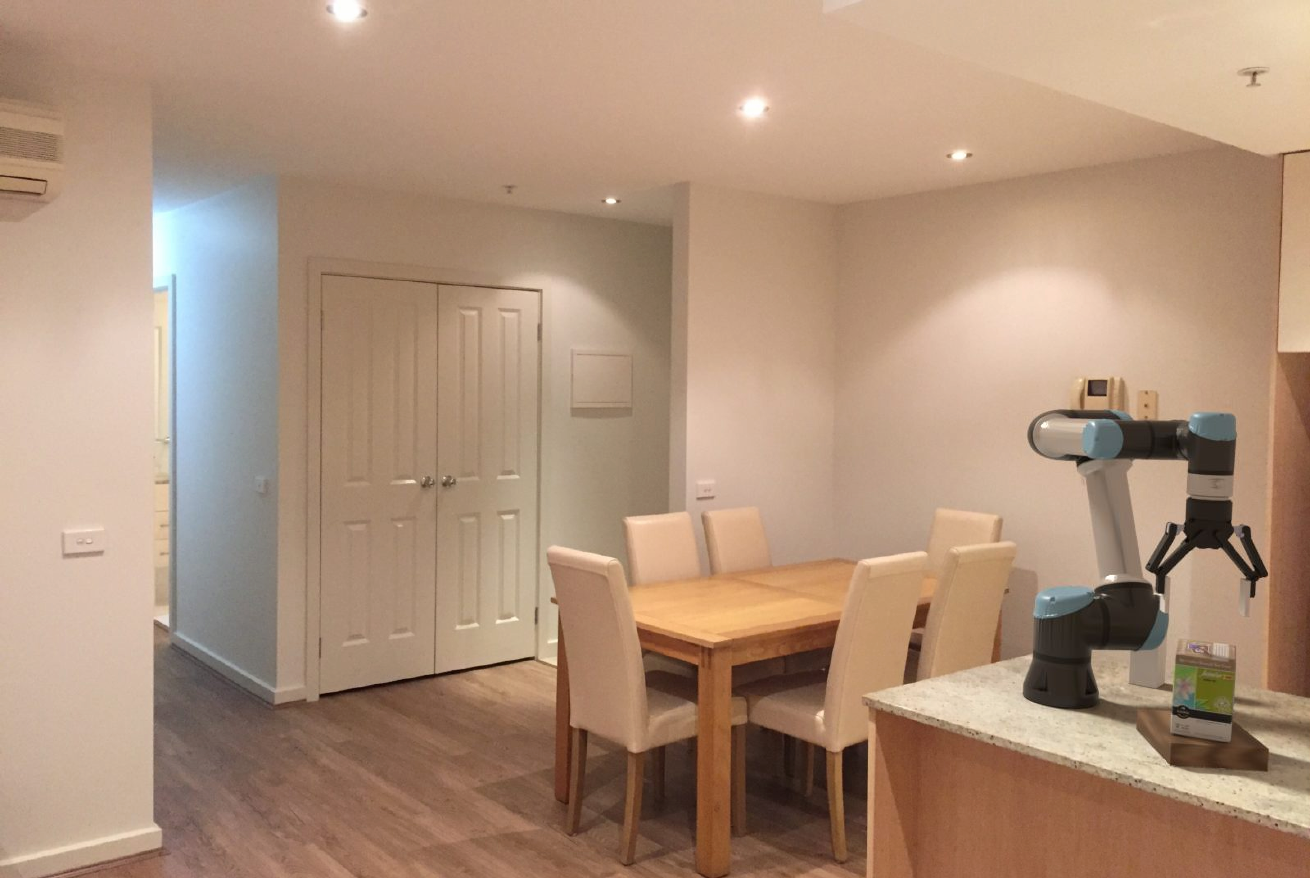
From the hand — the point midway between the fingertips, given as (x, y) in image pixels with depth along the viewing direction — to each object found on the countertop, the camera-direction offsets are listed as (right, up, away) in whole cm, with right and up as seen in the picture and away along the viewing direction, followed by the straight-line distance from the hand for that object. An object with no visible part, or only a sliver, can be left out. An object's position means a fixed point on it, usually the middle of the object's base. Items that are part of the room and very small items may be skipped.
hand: (1203, 613), depth 197 cm
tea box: (0, -21, +1) cm, 21 cm away
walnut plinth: (0, -25, +1) cm, 25 cm away
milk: (+10, -23, +45) cm, 52 cm away
